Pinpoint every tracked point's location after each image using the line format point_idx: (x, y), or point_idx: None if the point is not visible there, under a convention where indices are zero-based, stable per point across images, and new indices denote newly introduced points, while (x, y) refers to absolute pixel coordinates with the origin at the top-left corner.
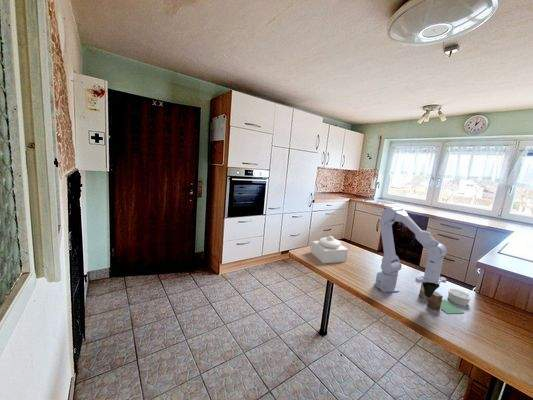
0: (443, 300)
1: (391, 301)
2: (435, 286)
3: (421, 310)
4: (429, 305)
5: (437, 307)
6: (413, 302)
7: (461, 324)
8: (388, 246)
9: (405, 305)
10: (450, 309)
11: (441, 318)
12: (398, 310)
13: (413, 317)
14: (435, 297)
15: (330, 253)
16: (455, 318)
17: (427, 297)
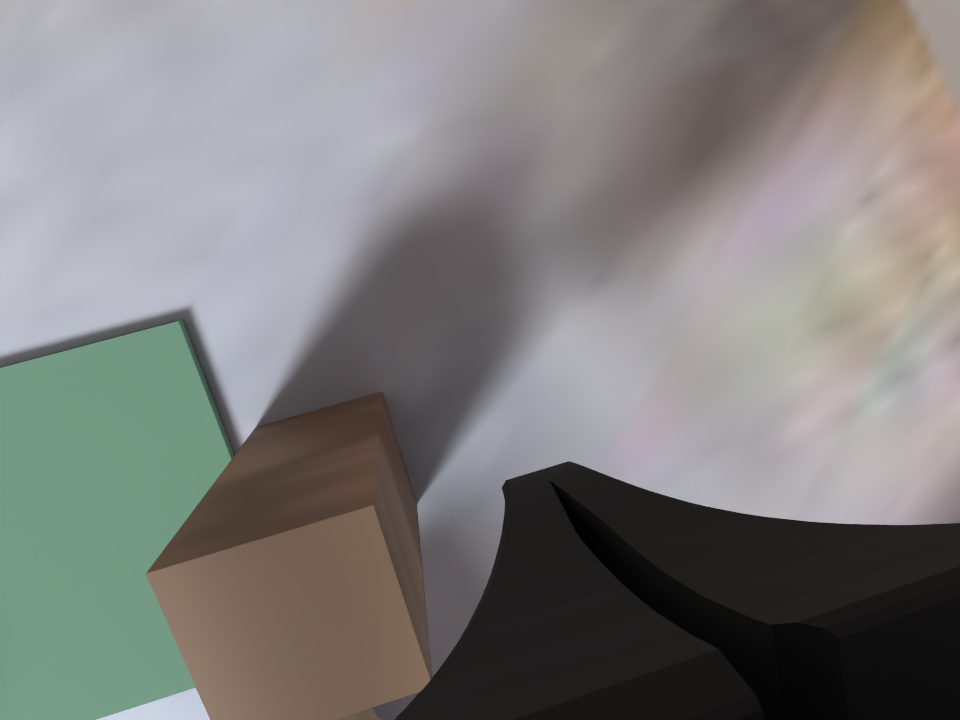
0: (31, 718)
1: (930, 453)
2: (707, 658)
3: (601, 323)
4: (406, 474)
5: (304, 424)
6: None
7: (77, 35)
8: None
9: (781, 401)
10: (45, 462)
11: (375, 159)
12: (956, 242)
13: (836, 100)
14: (380, 495)
15: None
16: (95, 210)
17: None
